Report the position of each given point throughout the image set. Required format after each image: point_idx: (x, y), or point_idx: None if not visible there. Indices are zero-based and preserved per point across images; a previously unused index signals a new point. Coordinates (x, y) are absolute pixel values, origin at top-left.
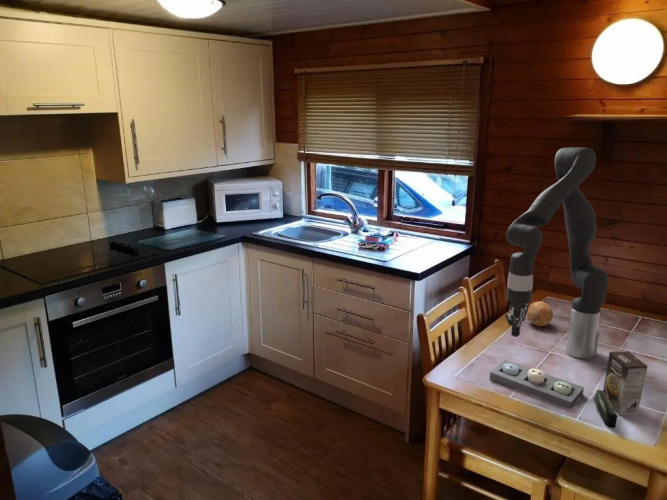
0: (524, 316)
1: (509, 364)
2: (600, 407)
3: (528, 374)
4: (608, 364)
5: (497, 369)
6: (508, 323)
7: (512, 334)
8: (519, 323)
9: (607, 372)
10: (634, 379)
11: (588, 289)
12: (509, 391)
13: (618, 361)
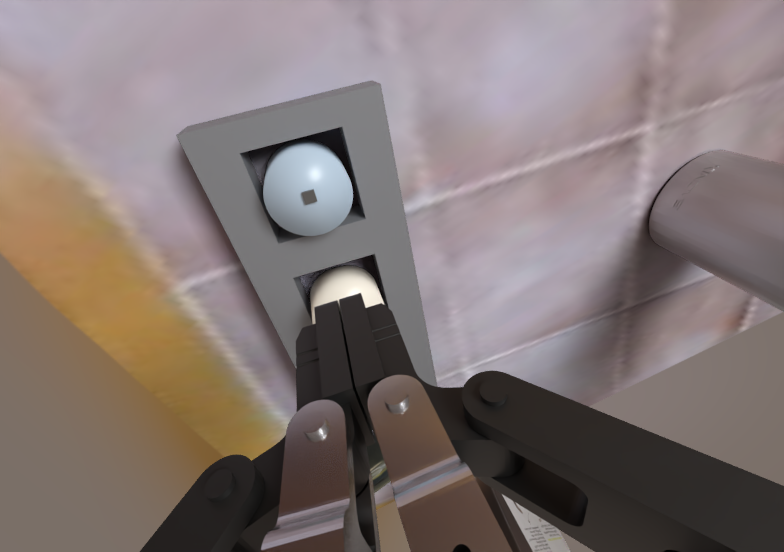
0: (540, 502)
1: (326, 171)
2: (371, 458)
3: (317, 299)
4: (497, 517)
5: (246, 139)
6: (164, 525)
7: (303, 336)
8: (361, 504)
9: (482, 485)
10: None
11: None
12: (207, 259)
13: None
